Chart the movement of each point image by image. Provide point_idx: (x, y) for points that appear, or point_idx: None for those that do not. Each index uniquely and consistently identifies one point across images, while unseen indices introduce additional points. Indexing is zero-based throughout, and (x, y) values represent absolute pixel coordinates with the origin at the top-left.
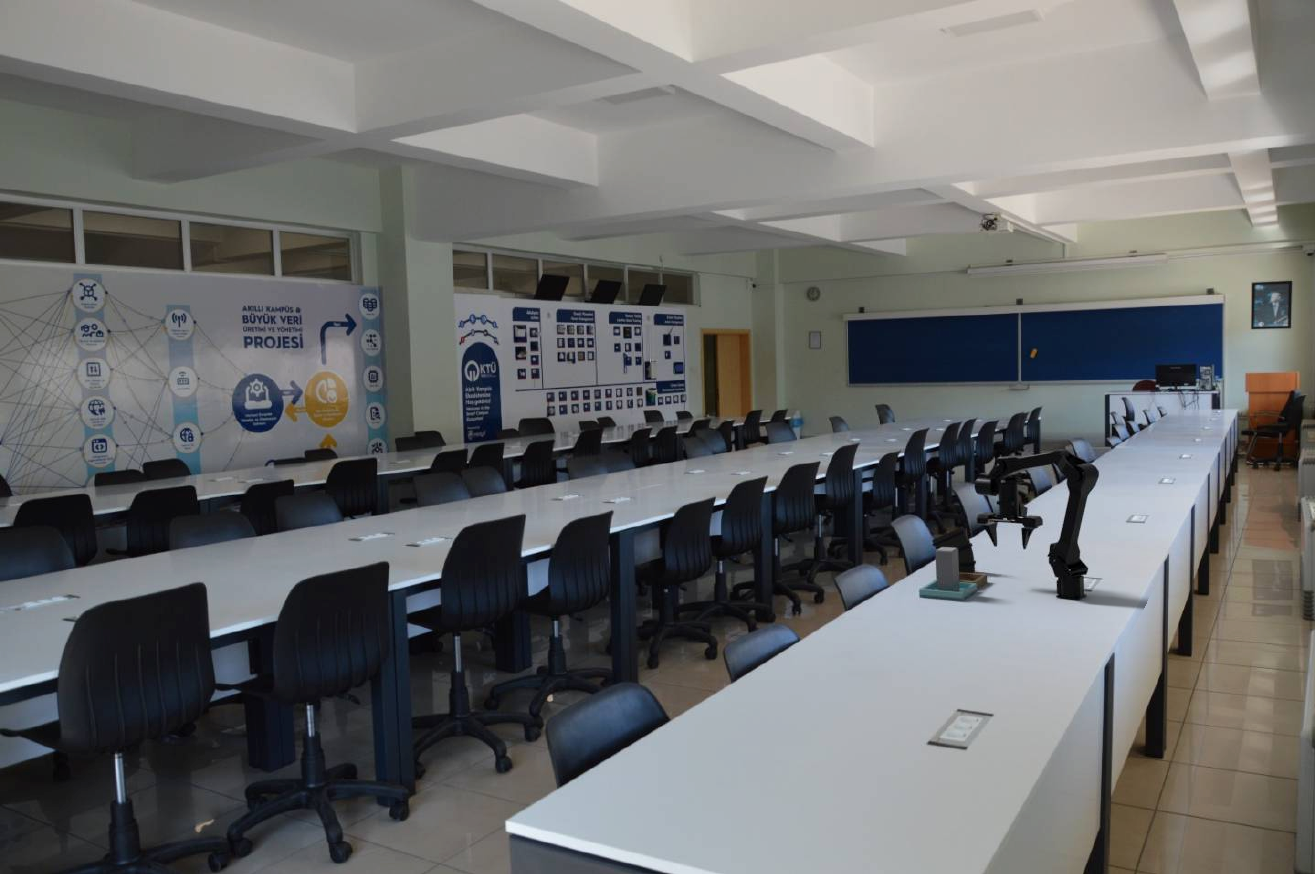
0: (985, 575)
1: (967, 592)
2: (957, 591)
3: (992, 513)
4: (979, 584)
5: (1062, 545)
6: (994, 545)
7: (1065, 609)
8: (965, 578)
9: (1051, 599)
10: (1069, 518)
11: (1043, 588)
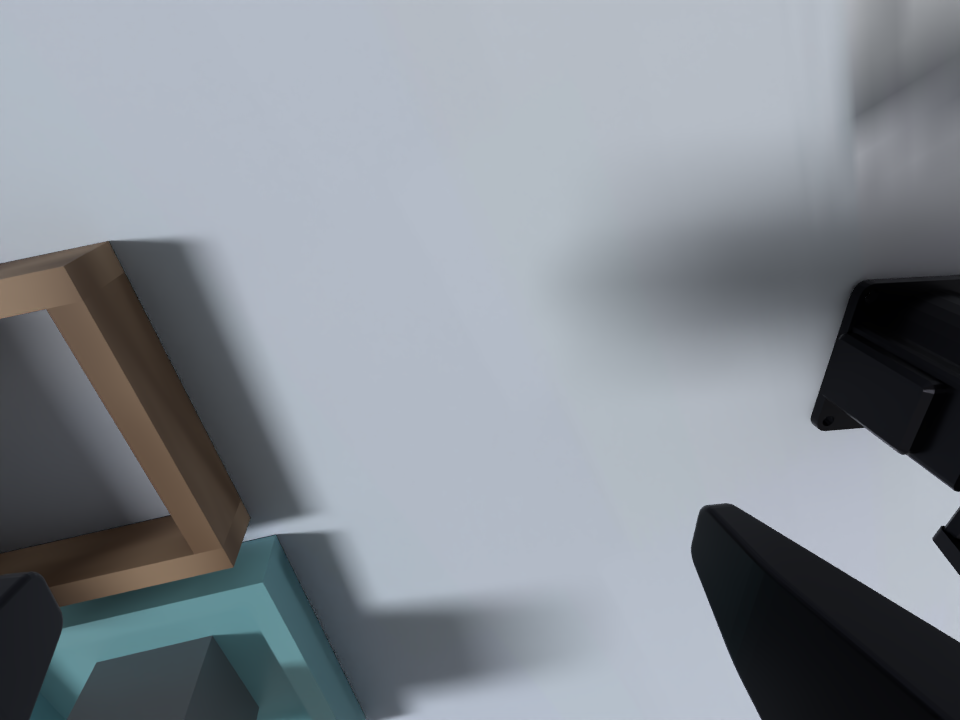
0: (93, 323)
1: (335, 695)
2: (228, 662)
3: None
4: (206, 467)
5: None
6: (32, 657)
7: (877, 581)
8: None
9: (785, 461)
10: None
11: (664, 196)
